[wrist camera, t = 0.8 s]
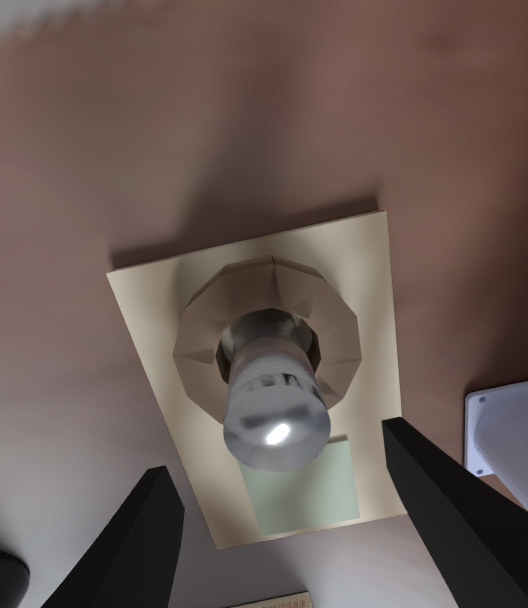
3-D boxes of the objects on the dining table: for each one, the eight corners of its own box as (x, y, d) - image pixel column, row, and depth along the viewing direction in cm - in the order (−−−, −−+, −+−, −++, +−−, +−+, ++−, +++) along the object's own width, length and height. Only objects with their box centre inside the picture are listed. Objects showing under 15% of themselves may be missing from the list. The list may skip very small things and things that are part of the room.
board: (379, 209, 17) (409, 212, 14) (402, 501, 25) (425, 546, 22) (113, 269, 18) (82, 285, 15) (218, 537, 26) (213, 586, 22)
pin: (292, 301, 18) (322, 374, 10) (303, 358, 19) (337, 461, 12) (227, 315, 18) (210, 398, 11) (242, 371, 19) (237, 481, 12)
